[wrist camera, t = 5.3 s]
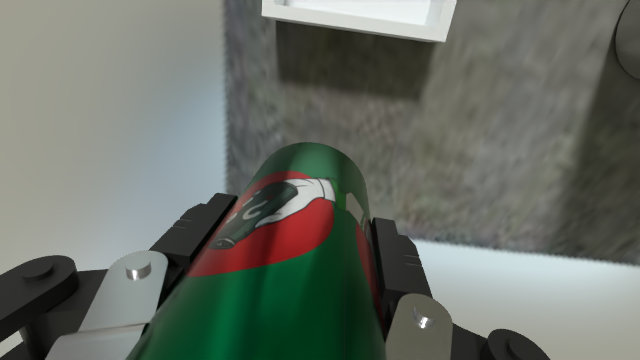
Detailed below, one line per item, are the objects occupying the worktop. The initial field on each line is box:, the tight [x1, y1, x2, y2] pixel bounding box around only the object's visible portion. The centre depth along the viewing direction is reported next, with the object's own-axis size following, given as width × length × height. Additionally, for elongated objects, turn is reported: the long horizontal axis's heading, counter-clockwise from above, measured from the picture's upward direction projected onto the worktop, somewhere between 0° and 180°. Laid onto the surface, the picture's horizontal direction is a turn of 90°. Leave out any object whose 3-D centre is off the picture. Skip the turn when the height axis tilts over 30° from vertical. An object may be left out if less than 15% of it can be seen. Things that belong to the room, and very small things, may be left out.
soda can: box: [125, 142, 387, 360], centre depth 8 cm, size 5×5×12 cm
